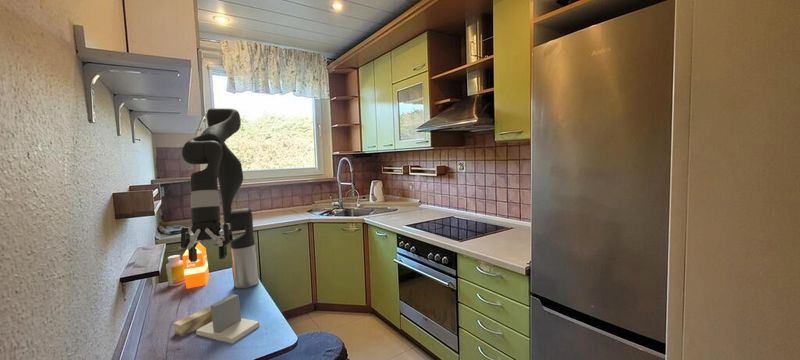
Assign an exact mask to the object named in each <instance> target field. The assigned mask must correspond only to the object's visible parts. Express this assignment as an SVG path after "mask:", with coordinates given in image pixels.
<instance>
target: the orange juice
mask: <svg viewBox="0 0 800 360" xmlns="http://www.w3.org/2000/svg"><path fill="white" fill-rule="evenodd" d="M195 249H197V261H195V262H190V260H189V254H188V249H187V248H186V250H185V252H184V253H183V255H182V256H181V258H182V261H183V266H184V275H185V281H186V282H185V288H186V290H187V289H192V288H196V287H202V286H207V284H208V282H209V279H210V271H209V262H208V257H207V248H206V247H205V246H204V245H203V244H202V243H201V241H200V242H199V243H198V245H197V246H196V248H195Z"/></svg>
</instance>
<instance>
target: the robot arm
mask: <svg viewBox="0 0 800 360" xmlns="http://www.w3.org/2000/svg"><path fill="white" fill-rule="evenodd" d="M241 122H242V121H241V116H240V112H239V111H238V110H237V109H236V108H231V107H229V108H227V107H223V108H221V107H220V108H219V107H218V108H209V109H208V110H207V111H206V123H207V126H208V127H207V128H205V129H204V130H203V131H202V132H201V134H200V135H197V136H195V137H193V138H191V139H189V140H187V141H186V142H185V143H184V145H183V146H182V149H181V156H182V159H183V160H184V161H185V162H186V163H187V164H190V165H195V166H196V165H206V167H205V168H204V169H202V170H199V171H195V172H192V173H191V174H190V189H191V190H190V191H191V193H190V216H191V217H190V218H191V219H190V220H191V223H192V226H188V227H187V226H185V227H181V229H180V248H183V249H184V248H185V249H186V250H187V249H188V254H189V260H190V262H195V261H197V249H195V248H196V246H197V245H198V243H199V242H200V243H201V241H206V240H207V241H208V240H213V241H214V242H216V243H217V245H218V258H219V260H224V259H226V257H227V256H228V253H227V252H228V251H227V246H228V245H229V244H230V250H231V257H232V264H231V269H232V278H233V286H234V287H235V288H237V289H247V288H248V289H249V288H252V287H254V286H256V285H258V284H259V282H260V280H259V271H258V270H259V269H258V262H257V252H256V245H255V244H256V243H255V236H254V235H255V234H254V223H253V222H254V221H253V212H252V209H250V208H247V207H244V208H235V209H232V204H233V201H234V200H235V199H234V198H235V196H236V195H237V193H238V191H239V189H240V188H241V186H242V184H243V181H244V175H243V173H244V172H243V165H242V162H241V160H239V158H238V157H237V156H236V155H235V153H234V152H233V151H232V150H231V149H230V148H229V147H228V146H227V144H226V143H225V142H226V141H227V140H228V139H229V138H230V137H232V136H233V135H234V134H235V133H237V132H238V131H239V130H240V128H241ZM219 191H220V195H219ZM220 196H221V197H220ZM220 198H221V204H220ZM220 205H222V216H223V224H222V223H221V208H220V207H221V206H220ZM220 231H222V232H223V235H222V234H221V233H220ZM238 231H239V232H241V231H245V232H244V233H243V234H241V235H240V236H238V237H236V238H234V239H233V233H234V232H238ZM191 234H193V236H192V237H191Z"/></svg>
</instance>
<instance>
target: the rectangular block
mask: <svg viewBox="0 0 800 360" xmlns="http://www.w3.org/2000/svg"><path fill="white" fill-rule="evenodd" d="M239 305H240V303H239ZM240 306H241V305H240ZM210 322H212V313H211V305H210V306H208V307H206V308H205V307H204V308H203V309H201V310H199V311H197V312H195V313H192V314H189V315H188V316H186V317H183V318H181V319H178V320H177V321H175V322H173V327H174V329H173V330H174V334H175V335H177V336H180V337H184V336H186V335H188V334H190V333H192V332H195V331H196V330H197V329H199V328H201V327H203V326H205V325H206V324H208V323H210Z"/></svg>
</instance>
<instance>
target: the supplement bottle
mask: <svg viewBox="0 0 800 360" xmlns="http://www.w3.org/2000/svg"><path fill="white" fill-rule="evenodd" d="M167 261H168V263H166V264H165V268H166V275H167V283H168V286H169V287H176V286H180V285H183V284H186V281H185V275H184V266H183V259H182V260H181V255H180V254H174V255H169V256H168V257H167Z"/></svg>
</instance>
